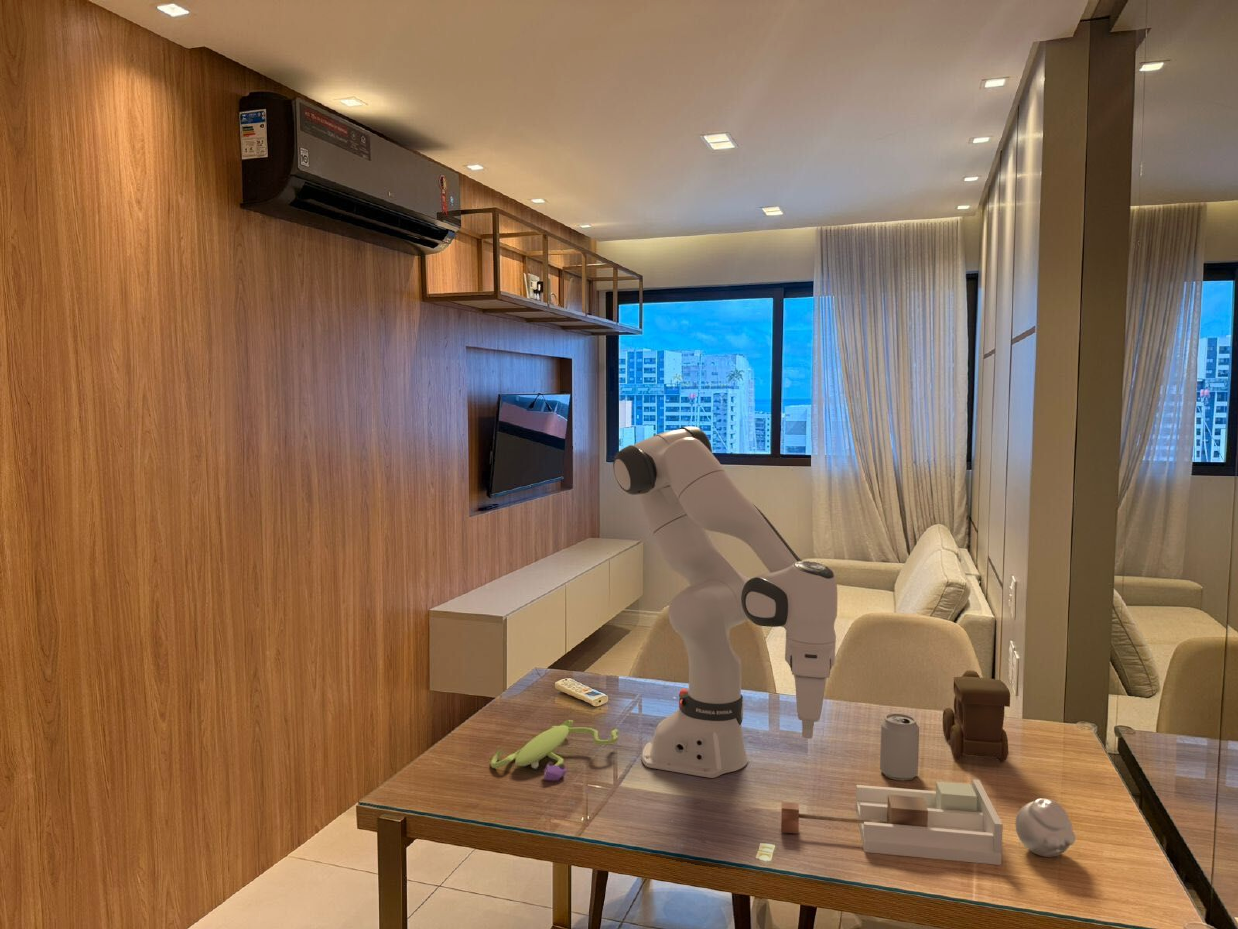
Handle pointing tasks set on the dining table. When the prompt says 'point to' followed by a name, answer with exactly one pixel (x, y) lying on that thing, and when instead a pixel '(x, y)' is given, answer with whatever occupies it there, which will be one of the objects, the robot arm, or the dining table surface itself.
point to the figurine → (548, 749)
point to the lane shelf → (931, 828)
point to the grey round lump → (1044, 828)
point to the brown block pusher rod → (898, 812)
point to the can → (899, 746)
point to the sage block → (955, 797)
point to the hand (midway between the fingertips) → (806, 726)
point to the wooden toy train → (977, 717)
